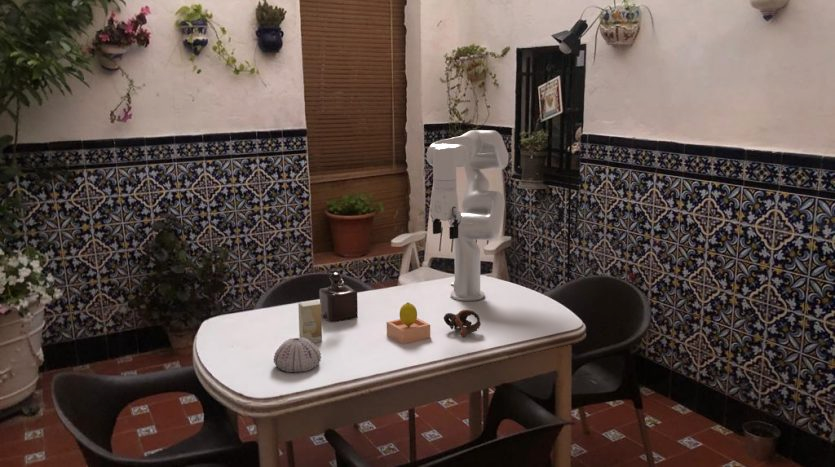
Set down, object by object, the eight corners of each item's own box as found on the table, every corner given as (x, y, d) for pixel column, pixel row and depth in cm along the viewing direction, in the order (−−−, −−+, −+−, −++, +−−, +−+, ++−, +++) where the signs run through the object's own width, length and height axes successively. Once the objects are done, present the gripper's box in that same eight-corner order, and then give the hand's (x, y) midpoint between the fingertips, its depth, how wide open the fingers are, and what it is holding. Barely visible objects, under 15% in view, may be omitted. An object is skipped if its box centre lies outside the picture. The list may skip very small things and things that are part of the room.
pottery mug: (479, 327, 222) (484, 310, 217) (474, 349, 215) (479, 332, 210) (443, 317, 224) (448, 300, 218) (437, 338, 216) (442, 321, 211)
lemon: (418, 323, 217) (417, 299, 215) (416, 329, 211) (415, 305, 210) (400, 323, 217) (400, 299, 216) (398, 329, 212) (398, 305, 210)
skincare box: (303, 344, 209) (301, 306, 206) (299, 340, 213) (297, 302, 210) (323, 340, 212) (321, 303, 209) (318, 336, 216) (316, 299, 213)
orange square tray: (386, 334, 216) (386, 322, 215) (413, 328, 221) (413, 316, 221) (403, 344, 208) (402, 330, 207) (430, 337, 213) (430, 324, 212)
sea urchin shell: (322, 355, 201) (320, 329, 199) (321, 373, 188) (320, 346, 186) (276, 358, 199) (274, 332, 197) (272, 377, 186) (270, 349, 184)
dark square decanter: (317, 314, 237) (315, 264, 233) (347, 309, 242) (345, 260, 238) (333, 327, 224) (331, 274, 220) (364, 322, 228) (362, 270, 225)
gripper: (421, 183, 228) (421, 233, 231) (450, 188, 213) (451, 242, 217) (439, 181, 231) (440, 230, 235) (469, 186, 217) (470, 239, 221)
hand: (445, 236), depth 226 cm, fingers open, 9 cm apart
